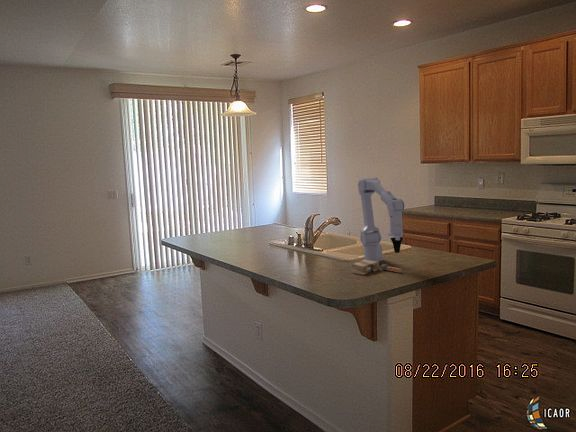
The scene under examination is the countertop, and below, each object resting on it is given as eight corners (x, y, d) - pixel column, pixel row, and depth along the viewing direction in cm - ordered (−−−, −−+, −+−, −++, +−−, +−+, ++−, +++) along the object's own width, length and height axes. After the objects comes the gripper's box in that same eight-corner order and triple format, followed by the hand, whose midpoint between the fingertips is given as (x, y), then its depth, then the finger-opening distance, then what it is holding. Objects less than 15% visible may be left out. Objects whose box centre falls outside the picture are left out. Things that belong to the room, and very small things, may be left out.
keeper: (380, 269, 233) (380, 265, 233) (384, 268, 235) (384, 264, 235) (399, 273, 225) (399, 268, 225) (402, 271, 227) (402, 267, 227)
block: (368, 267, 240) (367, 259, 239) (379, 269, 234) (378, 261, 234) (352, 272, 232) (351, 264, 231) (363, 274, 227) (362, 266, 226)
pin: (353, 270, 235) (353, 264, 235) (361, 268, 239) (360, 262, 239) (366, 273, 229) (366, 267, 229) (374, 271, 233) (373, 265, 232)
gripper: (386, 222, 238) (387, 249, 239) (388, 227, 223) (389, 255, 225) (401, 222, 236) (402, 249, 238) (404, 226, 222) (404, 255, 224)
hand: (397, 252), depth 231 cm, fingers closed
